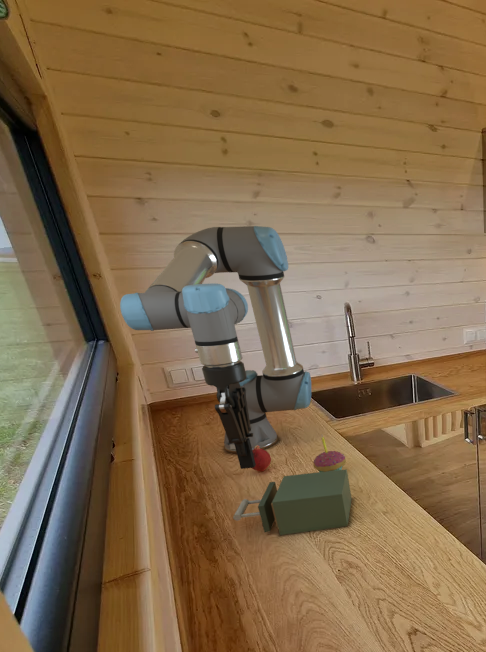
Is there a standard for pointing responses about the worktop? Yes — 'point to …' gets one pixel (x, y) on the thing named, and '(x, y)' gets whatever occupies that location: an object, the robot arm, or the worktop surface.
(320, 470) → the cupcake
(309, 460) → the worktop surface
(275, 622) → the worktop surface
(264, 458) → the onion
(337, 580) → the worktop surface
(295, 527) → the cabinet
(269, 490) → the drawer
